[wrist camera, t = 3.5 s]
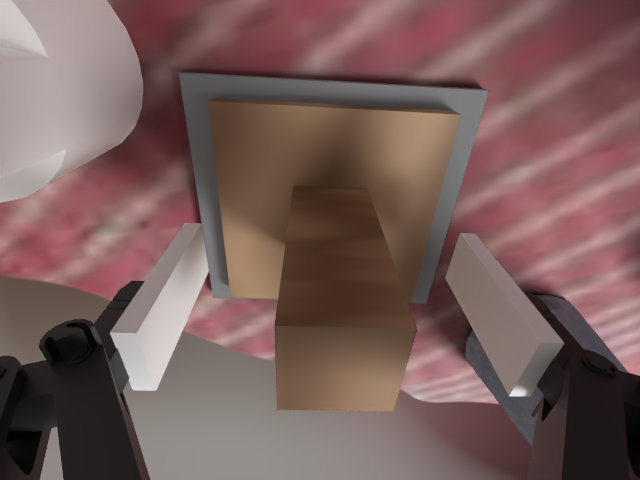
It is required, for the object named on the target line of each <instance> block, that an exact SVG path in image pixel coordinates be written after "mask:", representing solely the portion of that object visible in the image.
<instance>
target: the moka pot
mask: <svg viewBox="0 0 640 480" xmlns="http://www.w3.org/2000/svg"><path fill="white" fill-rule="evenodd" d="M535 296H536V297H538V298H539V299H541V300H542V301H543V302H544V303H545V304H546V306H547V307H548V308H549V309H550V310H551V313H553V314H554V315H555V316H556V317H557V318H558V321H560V322H561V323H562V324H563V325H564V327H565V328H566V329H567V330H568V331H569V332H570V334H571V335H572V336H573V337H574V338H575V339H576V341H577V342H578V343H579V344H580V345H581V346H582V348H583V349H587V350H590V351H594V352H596V353H598V354H600V355H602V356H604V357H606V358H607V359H608V360H610V361H611V362H612V363H613V364H614V365H615V366H616V367H617V368H618V369H619V371H623V372H627V373H629V372H628V371H627V370H626V369H625V368H624V367H623V365H622V364H621V363H620V362H619V360H618V359H617V358H616V357H615V355H614V354H613V353H612V352H611V351H610V349H609V348H608V347H607V346H606V345H605V343H604V342H603V341H602V340H601V338H600V337H599V336H598V335H597V333H596V332H595V331H594V330H593V329H592V328H591V326H590V325H589V324H588V323H587V322H586V320H585V319H584V318H583V317H582V315H581V314H580V313H579V312H578V311H577V310H576V309H575V307H574V306H573V305H572V304H571V303H570V302H568V301H567V300H564V299H561V298H558V297H554V296H549V295H535ZM465 357H466V359H467V361H468V362H469V364H470V365H471V366H472V367H473V369H474V370H475V372H476V373H477V375H478V376H479V377H480V378H481V380H482V381H483V382H484V384H485V385H486V386H487V388H488V389H489V390H490V392H491V393H492V394H493V395H494V397H495V398H496V400H497V401H498V403H499V404H500V405H501V407H502V408H503V409H504V411H505V412H506V413H507V414H508V416H509V417H510V419H511V420H512V421H513V423H514V424H515V426H516V427H517V428H518V429H519V430H520V432H521V433H522V434H523V436H524V437H525V438H526V439H527V441H528V442H529V443H530V444H531V446H532V445H533V438H534V432H535V426H536V420H537V414H538V413H537V414H536V415H535V417H533V416H531V414H532V412H533V410H534V409H535V407H536V406H537V404H538V403H539V401H540V400H541V398H542V397H543V396H544V395H543V394H542V392H541V391H540V389H539V388H538V386H537V387H536V388H535V390H534V391H533V393H532V394H531V396H530V397H525V396H509V395H508V393H507V392H506V390H505V388H504V386H503V384H502V382H501V380H500V379H499V377H498V375H497V373H496V371H495V369H494V368H493V366H492V364H491V362H490V360H489V358H488V356H487V355H486V353H485V351H484V349H483V347H482V345H481V343H480V342H479V340H478V338H477V336H476V334H475V332H474V331H473V329H472V331H471V332H470V334H469V336H468V338H467V341H466V351H465Z"/></svg>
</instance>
